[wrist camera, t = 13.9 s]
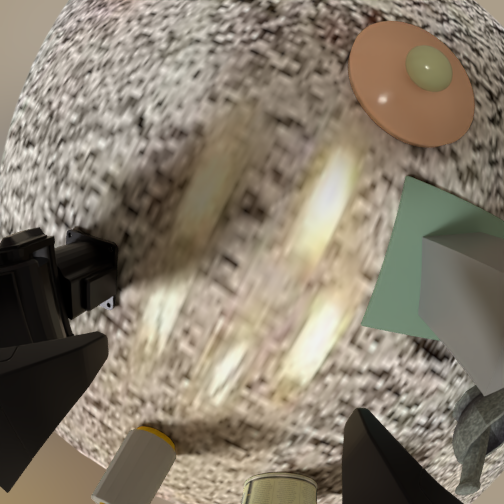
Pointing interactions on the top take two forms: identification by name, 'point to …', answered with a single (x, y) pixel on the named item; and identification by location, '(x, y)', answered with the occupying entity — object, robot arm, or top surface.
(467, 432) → the mortar and pestle
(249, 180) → the top surface
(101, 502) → the soap bottle
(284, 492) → the coffee can
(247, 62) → the top surface
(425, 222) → the mat
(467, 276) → the grey tall block
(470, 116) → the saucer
